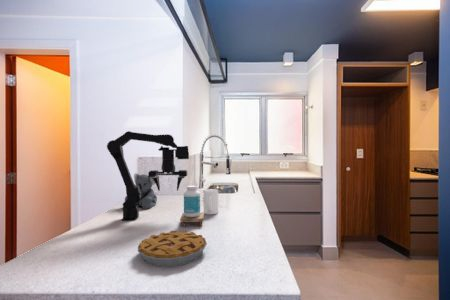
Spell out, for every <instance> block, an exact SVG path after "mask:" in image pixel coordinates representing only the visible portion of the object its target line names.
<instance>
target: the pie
mask: <svg viewBox="0 0 450 300" xmlns="http://www.w3.org/2000/svg"><path fill="white" fill-rule="evenodd" d="M207 245H208V243H207V241H206V237H203V235H202V234H197V233H195V232H192V231H190V232H187V231H186V230H183V231H177V230H171V231H170V232H160V233H159V234H152V235H150V237H148V238H144V239H142V240H141V242H139V244H138V245H137V252H138V253H139V254H140V255H141V258H142V259H143V260H144V261H145V262H147V264H150V265H154V266H157V267H162V266H164V268H173V267H178V266H182V265H186V264H189V263H191V262H194V261H195V260H196V259H198V258H200V257H201V255H202V254H203V251H204V250H205V249H206V247H207Z"/></svg>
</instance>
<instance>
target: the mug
mask: <svg viewBox="0 0 450 300" xmlns="http://www.w3.org/2000/svg"><path fill="white" fill-rule="evenodd" d="M202 193H203V195H202V203H203V204H202V207H203V209H202V210H203V211H202V213H204V215H216V214H219V189H217V188H205V189H203V190H202Z"/></svg>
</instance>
